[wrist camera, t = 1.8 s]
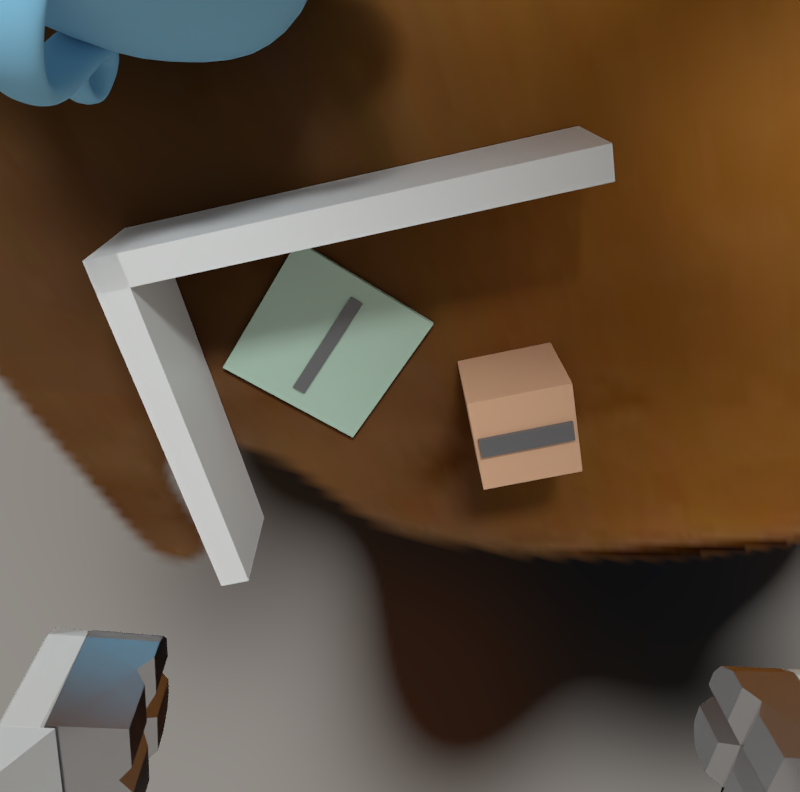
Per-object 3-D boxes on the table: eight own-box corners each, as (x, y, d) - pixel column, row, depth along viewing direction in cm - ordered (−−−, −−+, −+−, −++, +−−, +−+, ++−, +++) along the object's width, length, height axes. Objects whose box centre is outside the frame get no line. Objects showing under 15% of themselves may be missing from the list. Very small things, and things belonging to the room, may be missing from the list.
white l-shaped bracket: (578, 125, 33) (612, 143, 28) (609, 452, 41) (639, 509, 36) (124, 228, 35) (82, 261, 30) (239, 522, 43) (221, 586, 38)
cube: (550, 341, 38) (573, 385, 34) (560, 422, 40) (583, 473, 36) (457, 360, 39) (467, 406, 34) (472, 439, 41) (484, 492, 36)
